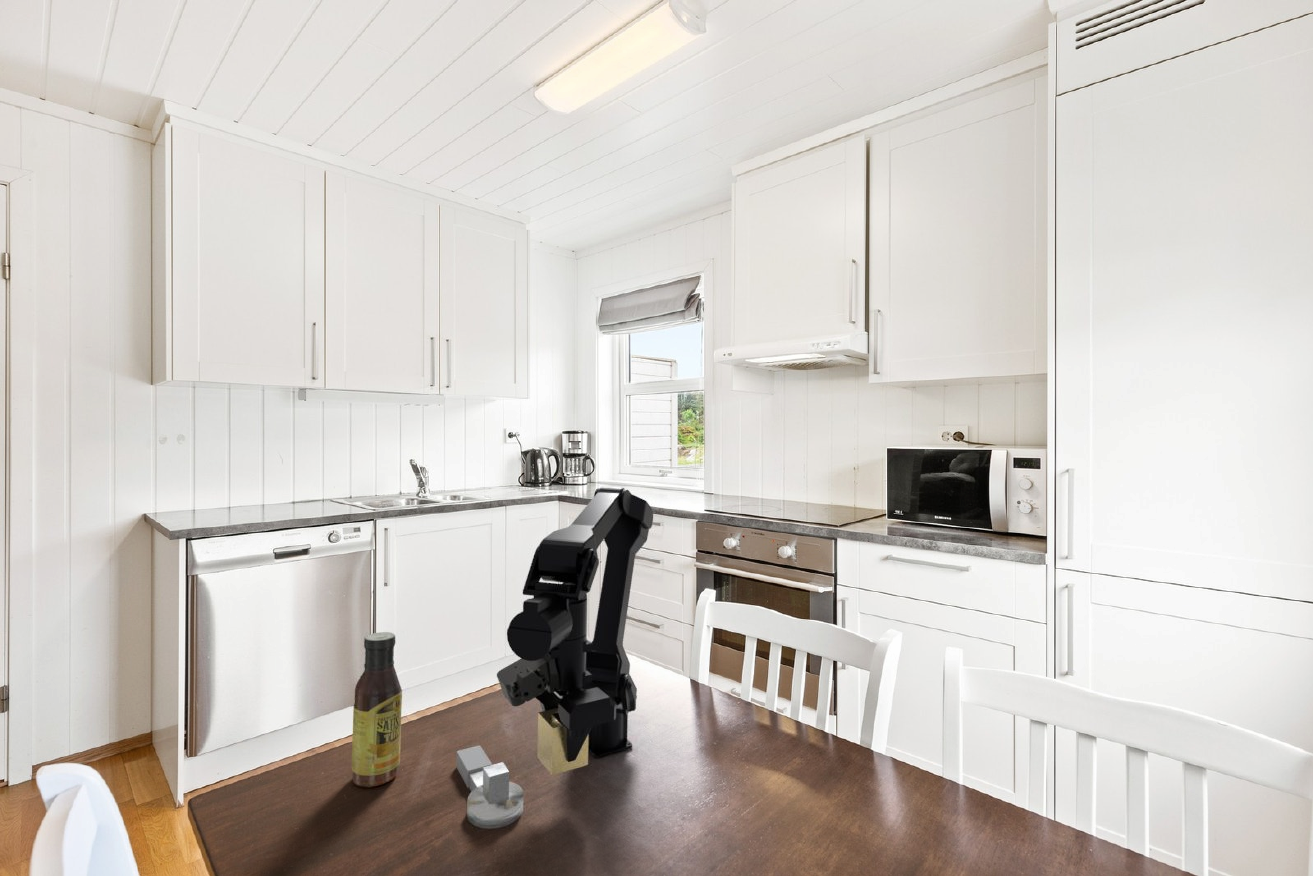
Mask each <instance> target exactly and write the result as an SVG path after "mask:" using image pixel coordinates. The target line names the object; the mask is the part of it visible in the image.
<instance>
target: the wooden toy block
mask: <svg viewBox="0 0 1313 876" xmlns="http://www.w3.org/2000/svg"><path fill="white" fill-rule="evenodd" d="M554 713H558V708H555V709H551V710H546V711H542V710H541V711H538V713H537V753H536V755H537V756H536V757H537V759H538V760H539V761H540V762H541V764H542V765H543V767H544V768H545V769H546V770H547V771H548V772H549V773H550V775H551V776H555V775H557V774H561V773H565V772H567V771H572V770H575V769H578V768H582V767H585V766H588V765H589V751H588V736H587V738H586V740H585V742H584V744H583V746H582V748H581V750H580V752H579V754H578V756H577V758H576V760H575V761H571V762H568V761H567V760H566V753H565V746H564V737H563V728H562V725H561V724H560V723H559V722H558V721H557V720H556V719H555V718H554V717H553V716H552V714H554Z"/></svg>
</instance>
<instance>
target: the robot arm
mask: <svg viewBox="0 0 1313 876" xmlns="http://www.w3.org/2000/svg"><path fill="white" fill-rule="evenodd" d="M653 522H654V511H653V508H652V506H650V504H649V503H648V501H647V500H646V499H643V498H640V497H639V496H636V495H635V494H632V493H631V491H630V490H629V489H627V488H626V489H625V487H613V486H601V487H597V488H596V489H595V491H594V494H593V497H592V499H591V500H590V501H589V502H588V504H587V505H586V506H585V507H584V508H583V510H581V512H580V513H579V514H578V515H577V517H576V518H575V519H574V520H573V522H572V523H571V524H570V525H569V526H567V527H565V528H564V527H563V528H561V529H557V530H554V531H552V532H551V533H550V534H548V535H547V536H545V537H544V538H543V539H542V540H541V541H540V543H539V544H538V546H537V548H536V549H535V551H534V555H533V558H532V560H531V562H530V563H531V564H530V567H529V570H528V574H527V576H526V580H525V583H524V585H523V589H522V595H524V596H533V597H532V598H527V599H525V600H524V601H523V602H522V611H521V612H519V613H517V614H516V615H515V616H514V617H513V618H512V619H511V620H510V622H509V624H508V628H507V630H506V639H507V643H508V646H509V648H510V649H511V651H512V652H513V653H514V654H515V655H516V656H517V657H518V658H519V659H518V660H516V661H514V662H513V663H511V664H508V665H507V666H505V667H503V668H502V669H500V670H499V671H497V673H496V678H497V679H498V683H499V686H500V688H501V691H502V694H503V697H504V699H506V700H507V701H508V702H509V703H510V705H511V706H512V707H520V706H521V705H523V704H525V703H526V702H530V701H531V700H533V699H536V700H537V701H539V704H540V707H541V712H542V711H546V710H551V709H555V708H558V713H554V714H552V716H553V717H554V718H555V719H556V720H557V721H558V722H559V723H560V724H561V725H562V728H563V737H564V746H565V753H566V760H567V761H568V762H571V761H575V760H576V758H577V756H578V754H579V752H580V750H581V748H582V746H583V744H584V742H585V740H586V738H587V736H588V753H590V754H591V755H592V756H593V757H594V758H597V759H599V758H602V757H605V756H609V755H612V754H615V753H620V752H621V751H625V750H628V749H632V748H633V743H632V742H631V741H630V739H628V726H629V725H628V724H629V723H628V718H629V716H628V715H629V712H630V713H631V712H634V711H636V709H637V697H638V693H637V691H638V689H637V686H636V684H635V682H634V679H633V678H632V676H631V675H630V669H631V667H630V666H631V663H630V660H629V658H628V655H627V653H626V651H625V648H624V639H625V638H624V637H625V628H626V621H627V616H628V608H629V601H630V594H631V587H632V581H633V573H634V567H635V560H636V555H637V553H638V552H639V551H640V550H641V548H642V547H643V546H644V545H645V544H646V542H647V541H648V536H649V532H650V529H652V526H653ZM603 541H604V543H605V545H606V547H607V552H606V557H605V563H604V569H603V570H604V571H603V577H602V583H601V588H600V595H599V601H598V602H599V603H598V608H597V616H596V621H595V627H594V633H593V634H594V635H593V639H592V641H590V640H588V639H587V632H588V631H587V628H588V623H587V622H588V595H587V594H588V593H590V592H591V589H592V585H593V582H594V580H595V577H596V573H597V572H598V568H599V564H600V559H599V556H598V555H599V554H598V551H597V550H598V548H599V546H601V544H602V542H603ZM540 580H542V581H540ZM543 581H545V582H543Z"/></svg>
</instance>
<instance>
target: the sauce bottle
mask: <svg viewBox="0 0 1313 876" xmlns="http://www.w3.org/2000/svg"><path fill="white" fill-rule="evenodd" d="M395 645H396V634H394V633H393V632H390V631H389V632H388V631H383V632H382V631H381V632H374V633H370V634H368V635H365V637H364V640H363V647H364V649H365V650H364V651H365V653H364V655H365V657H364V660H365V661H364V664H363V666H364V667H363V668H364V670H363V673H362V674H361V675H360V676H359V678H358V680H357V683H356V684H355V689H354V704H353V710H352V711H353V712H352V713H353V715H352V743H351V746H352V747H351V767H350V769H351V772H352V782H353V784H355V785H356V786H358V787H364V788H373V787H377V786H382V785H384V784H386V783H388V782H390V781H392V780H394V779H395V778H396V776H397V775H398V772H399V768H400V767H399V766H400V764H401V763H400V762H401V744H402V743H401V742H402V741H401V740H402V738H401V737H402V736H401V735H402V733H401V732H402V709H403V708H402V704H403V703H402V701H403V700H402V699H403V690H402V687H401V683H400V681H399V678H398V675H397V671H396V668H395V661H394V650H395Z"/></svg>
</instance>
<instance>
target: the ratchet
mask: <svg viewBox="0 0 1313 876" xmlns="http://www.w3.org/2000/svg"><path fill="white" fill-rule="evenodd" d="M455 764H456V769H457V771H458V772H459V775H460V776H461V779H462V780H463V782H464V785H466V787H467V789H469V790H470V793H469V794H468V797H467V802H466V803H467V806H466V807H467V810H466V811H467V813H466V814H467V815H466V816H467V820H468V821H469V823H470V824H471V825H473V826H475V827H478V828H480V829H488V830H489V829H490V830H491V829H499V828H503V827H506V826H508V825H511V824H513V823H514V822H515V821H518V820H519V818H520V817H521V815H522V814H523V812H524V790H523V788H522V787H521V786H520V785H519V784H517V783H515V782H512V781H510V771H509V769H508V767H507V765H506V764H505V763H504V762H503V761H502V762H498V763H495V764H493V763H492V762H491V760H490V759H489V756H488V755H487V753H485V751H484V749H483V748H482V746H481V745H475V746H472V747H468V748H464V749H460V750H457V751H456V763H455Z"/></svg>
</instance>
